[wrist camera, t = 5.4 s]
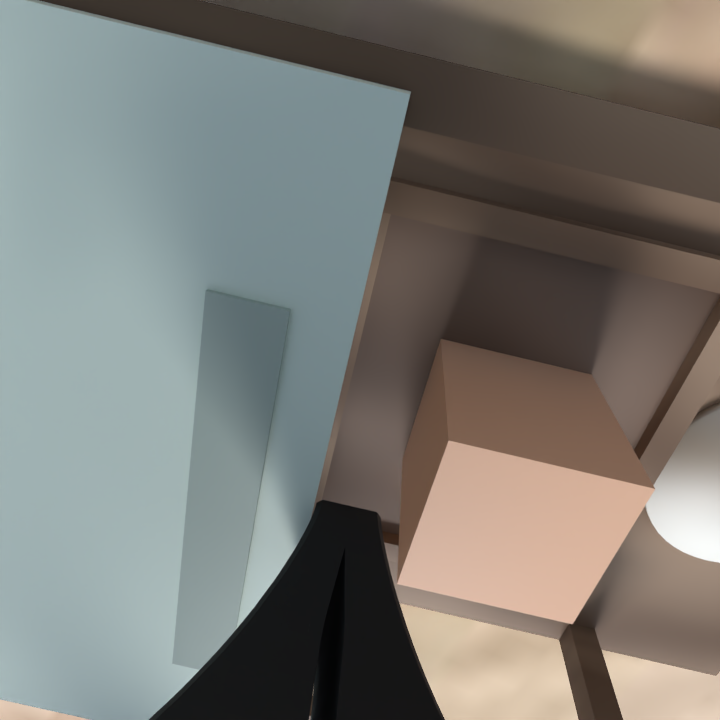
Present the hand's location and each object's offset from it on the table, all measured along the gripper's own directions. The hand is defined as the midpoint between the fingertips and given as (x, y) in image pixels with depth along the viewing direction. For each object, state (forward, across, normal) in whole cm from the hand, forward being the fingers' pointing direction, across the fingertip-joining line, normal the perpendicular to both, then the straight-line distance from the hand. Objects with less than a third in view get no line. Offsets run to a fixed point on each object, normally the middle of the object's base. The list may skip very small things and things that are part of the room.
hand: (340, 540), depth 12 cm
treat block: (+6, -4, 0) cm, 7 cm away
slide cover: (+1, +6, 0) cm, 6 cm away
